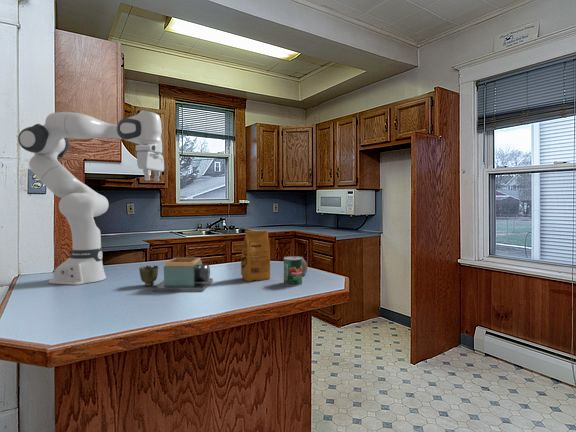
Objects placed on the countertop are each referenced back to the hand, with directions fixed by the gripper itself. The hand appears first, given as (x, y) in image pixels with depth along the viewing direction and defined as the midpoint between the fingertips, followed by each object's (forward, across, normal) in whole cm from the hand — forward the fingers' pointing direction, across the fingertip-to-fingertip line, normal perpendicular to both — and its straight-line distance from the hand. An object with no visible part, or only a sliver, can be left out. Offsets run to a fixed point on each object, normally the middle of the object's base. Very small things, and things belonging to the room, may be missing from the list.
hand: (152, 181), depth 156 cm
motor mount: (+44, +10, +16) cm, 48 cm away
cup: (+44, +9, +1) cm, 45 cm away
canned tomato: (+44, +5, +61) cm, 76 cm away
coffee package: (+44, -4, +44) cm, 63 cm away
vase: (+44, -11, +64) cm, 79 cm away
